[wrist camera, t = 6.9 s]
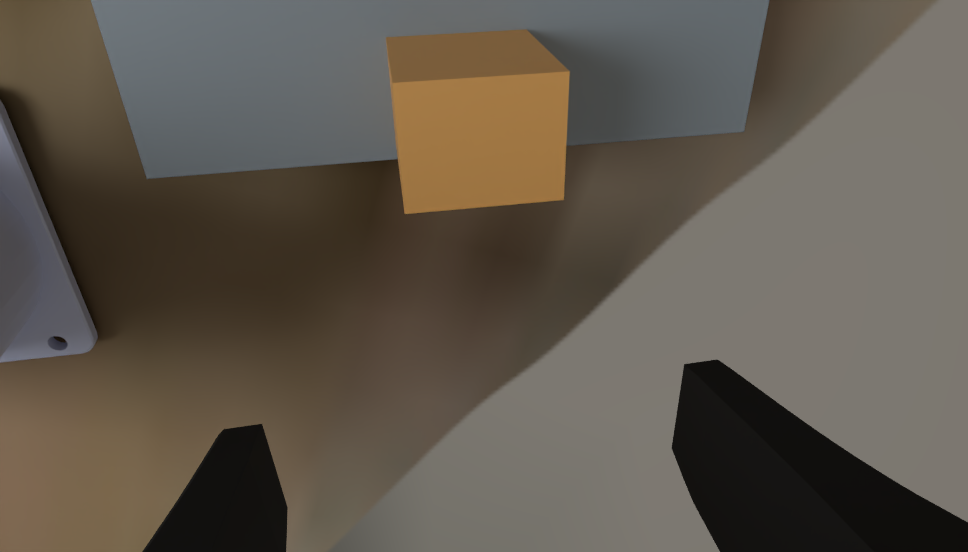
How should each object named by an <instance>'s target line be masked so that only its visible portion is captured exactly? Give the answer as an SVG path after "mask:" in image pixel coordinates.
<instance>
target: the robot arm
mask: <svg viewBox="0 0 968 552" xmlns="http://www.w3.org/2000/svg"><path fill="white" fill-rule="evenodd" d="M53 336H59V337H61V338H64V339H65V340H66V341H67V342H60V341H57V340H56V339H55V338H54V337H53ZM97 339H98V335H97V331H96V329H95V326H94V324H93V321H92V319H91V317H90V314H89V312H88V309H87V307H86V304H85V302H84V300H83V297H82V295H81V292H80V290H79V287H78V285H77V282H76V280H75V278H74V275H73V273H72V270H71V268H70V265H69V263H68V260H67V258H66V256H65V253H64V251H63V248H62V246H61V243H60V241H59V239H58V236H57V234H56V231H55V229H54V226H53V224H52V221H51V219H50V217H49V214H48V212H47V209H46V207H45V204H44V202H43V199H42V197H41V195H40V192H39V190H38V187H37V185H36V182H35V180H34V178H33V175H32V173H31V170H30V168H29V165H28V163H27V160H26V158H25V156H24V153H23V151H22V148H21V146H20V143H19V141H18V138H17V136H16V134H15V131H14V129H13V126H12V124H11V121H10V119H9V116H8V114H7V112H6V109H5V107H4V105H3V103H2V102H1V100H0V362H9V361H18V360H28V359H37V358H46V357H55V356H65V355H74V354H82V353H86V352H89V351H90V350H91V349H93V347H94V345H95V343H96V341H97ZM672 450H673V452H674V455H675V458H676V460H677V463H678V465H679V468H680V471H681V473H682V476H683V479H684V481H685V483H686V486H687V488H688V491H689V493H690V496H691V498H692V500H693V502H694V504H695V506H696V508H697V510H698V511H699V514H700V516H701V517H702V519H703V521H704V523H705V525H706V527H707V529H708V530H709V532H710V534H711V536H712V538H713V540H714V541H715V543H716V545H717V547H718V549H719V551H720V552H968V522H966V521H964V520H962V519H960V518H959V517H957V516H955V515H953V514H951V513H950V512H948V511H946V510H944V509H942V508H941V507H939V506H937V505H935V504H933V503H931V502H929V501H928V500H926V499H924V498H922V497H921V496H919V495H917V494H915V493H914V492H912V491H910V490H908V489H907V488H905V487H903V486H902V485H900V484H898V483H896V482H895V481H893V480H892V479H890V478H888V477H887V476H885V475H884V474H882V473H881V472H879V471H877V470H876V469H874V468H873V467H871V466H869V465H868V464H866V463H865V462H863V461H861V460H860V459H858V458H857V457H855V456H853V455H852V454H850V453H849V452H848V451H846V450H844V449H843V448H841V447H840V446H838V445H837V444H835V443H834V442H832V441H831V440H830V439H828V438H827V437H825V436H824V435H822V434H821V433H819V432H818V431H816V430H815V429H814V428H812V427H811V426H809V425H808V424H806V423H805V422H804V421H802V420H801V419H799V418H798V417H797V416H795V415H794V414H792V413H791V412H790V411H788V410H787V409H785V408H784V407H783V406H781V405H780V404H778V403H777V402H776V401H774V400H773V399H772V398H770V397H769V396H768V395H766V394H765V393H763V392H762V391H761V390H759V389H758V388H757V387H755V386H754V385H752V384H751V383H750V382H748V381H747V380H746V379H744V378H743V377H742V376H740V375H738V374H737V373H736V372H735V371H733V370H732V369H730V368H729V367H727V366H726V365H725V364H723V363H722V362H720V361H719V360H711V361H704V362H697V363H690V364H684V370H683V376H682V384H681V390H680V397H679V403H678V410H677V417H676V423H675V430H674V437H673V443H672ZM286 538H287V505H286V501H285V498H284V495H283V492H282V488H281V485H280V482H279V478H278V475H277V472H276V468H275V465H274V462H273V459H272V455H271V452H270V449H269V445H268V442H267V439H266V436H265V432H264V429H263V426H262V424H258V425H251V426H244V427H237V428H230V429H224V430H223V431H222V432H221V433H220V434H219V435H218V437H217V438H216V440H215V442H214V443H213V445H212V446H211V448H210V450H209V451H208V453H207V454H206V456H205V458H204V459H203V461H202V463H201V464H200V466H199V467H198V469H197V471H196V472H195V474H194V475H193V477H192V479H191V480H190V482H189V483H188V485H187V486H186V488H185V489H184V491H183V493H182V494H181V496H180V497H179V499H178V500H177V502H176V503H175V505H174V506H173V508H172V509H171V511H170V512H169V514H168V515H167V517H166V518H165V520H164V521H163V522H162V524H161V525H160V527H159V528H158V530H157V531H156V533H155V534H154V536H153V537H152V539H151V540H150V542H149V543H148V545H147V546H146V547H145V549H144V550H143V552H286Z"/></svg>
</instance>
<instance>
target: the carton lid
mask: <svg viewBox="0 0 968 552" xmlns="http://www.w3.org/2000/svg"><path fill="white" fill-rule="evenodd" d="M91 2H92V5H93V8H94V12H95V15H96V18H97V21H98V24H99V28H100V31H101V34H102V37H103V40H104V44H105V47H106V50H107V53H108V56H109V60H110V63H111V66H112V69H113V72H114V76H115V79H116V82H117V85H118V88H119V92H120V95H121V98H122V101H123V104H124V108H125V111H126V114H127V117H128V120H129V124H130V127H131V130H132V133H133V136H134V140H135V143H136V146H137V149H138V152H139V156H140V159H141V162H142V165H143V168H144V171H145V175H146V178H147V179H151V178H164V177H177V176H189V175H202V174H215V173H228V172H240V171H253V170H266V169H278V168H291V167H304V166H316V165H329V164H342V163H355V162H367V161H380V160H393V159H398V165H399V173H400V181H401V189H402V196H403V204H404V212H405V214H412V213H423V212H434V211H445V210H457V209H468V208H479V207H490V206H502V205H513V204H524V203H535V202H547V201H558V200H564V184H565V163H566V146H571V145H583V144H596V143H609V142H622V141H634V140H647V139H660V138H672V137H685V136H698V135H710V134H723V133H736V132H744V129H745V124H746V119H747V114H748V108H749V103H750V98H751V93H752V88H753V83H754V77H755V72H756V67H757V62H758V57H759V51H760V46H761V41H762V36H763V31H764V25H765V20H766V15H767V10H768V5H769V0H91Z"/></svg>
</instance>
